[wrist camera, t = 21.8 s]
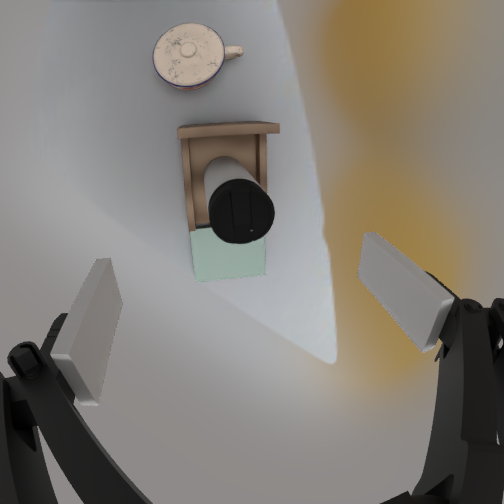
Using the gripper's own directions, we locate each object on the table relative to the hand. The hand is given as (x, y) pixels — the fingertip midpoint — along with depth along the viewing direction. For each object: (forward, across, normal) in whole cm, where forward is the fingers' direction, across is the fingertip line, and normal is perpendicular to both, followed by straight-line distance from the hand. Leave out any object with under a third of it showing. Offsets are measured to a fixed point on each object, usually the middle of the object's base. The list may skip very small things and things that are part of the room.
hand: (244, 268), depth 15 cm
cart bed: (+35, +2, -2) cm, 35 cm away
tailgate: (+33, +2, -10) cm, 34 cm away
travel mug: (+33, +2, -2) cm, 33 cm away
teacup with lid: (+35, -1, +16) cm, 38 cm away
